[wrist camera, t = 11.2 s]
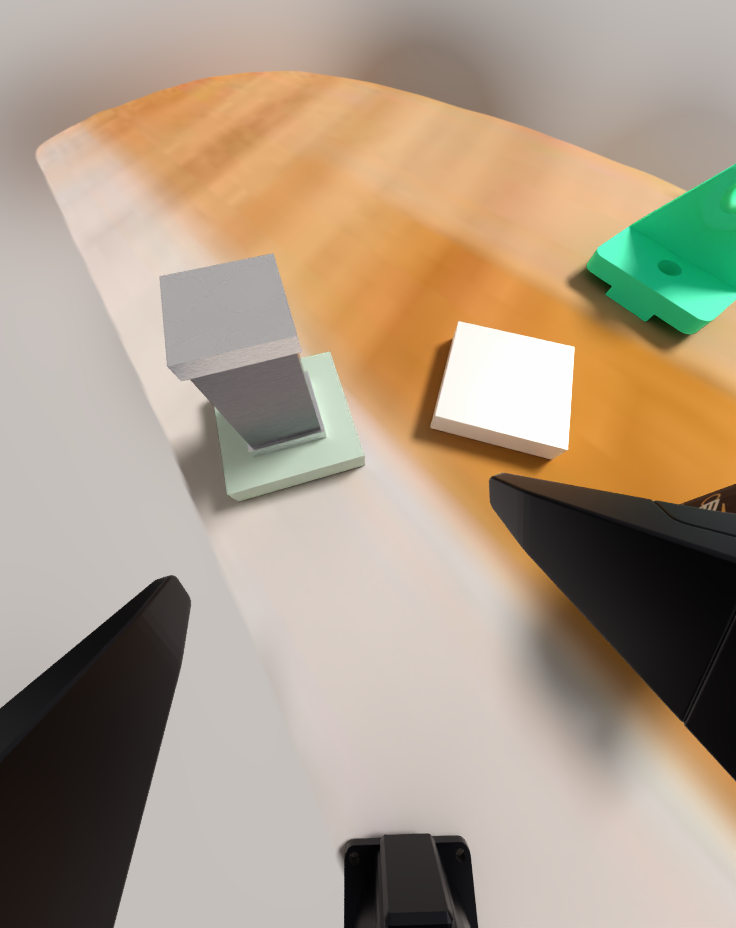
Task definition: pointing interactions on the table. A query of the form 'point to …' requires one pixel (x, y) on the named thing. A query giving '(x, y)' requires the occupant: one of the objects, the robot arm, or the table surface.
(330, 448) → the stand
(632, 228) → the camera mount
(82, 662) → the robot arm
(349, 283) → the table surface
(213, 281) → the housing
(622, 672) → the table surface
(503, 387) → the stand
